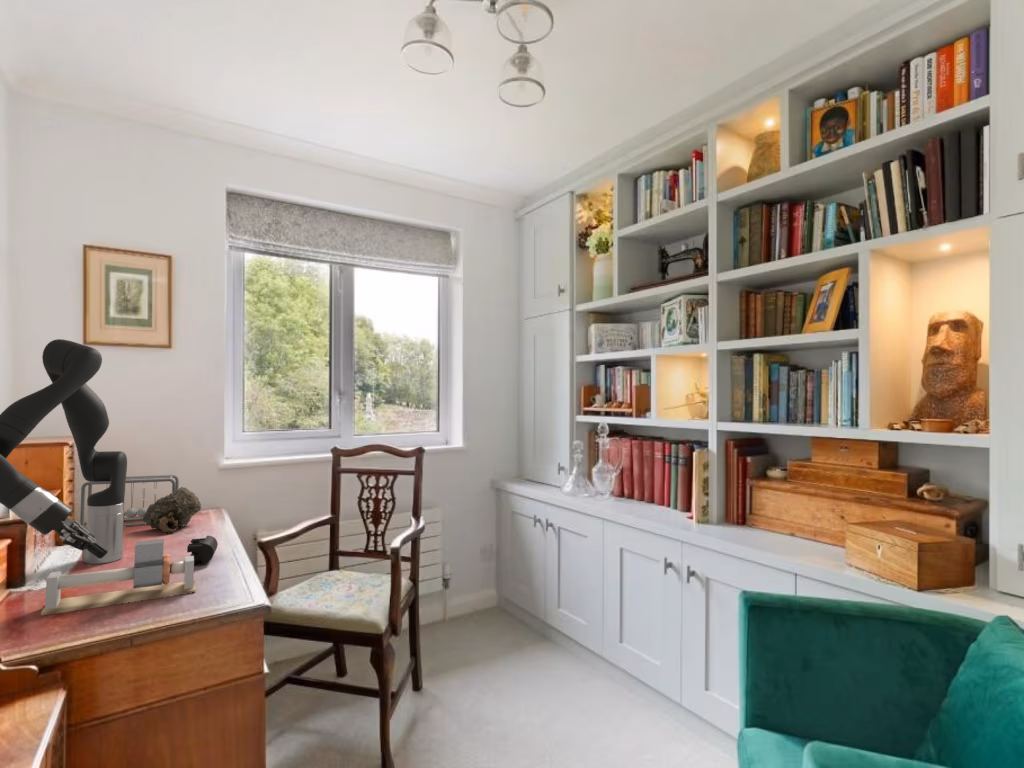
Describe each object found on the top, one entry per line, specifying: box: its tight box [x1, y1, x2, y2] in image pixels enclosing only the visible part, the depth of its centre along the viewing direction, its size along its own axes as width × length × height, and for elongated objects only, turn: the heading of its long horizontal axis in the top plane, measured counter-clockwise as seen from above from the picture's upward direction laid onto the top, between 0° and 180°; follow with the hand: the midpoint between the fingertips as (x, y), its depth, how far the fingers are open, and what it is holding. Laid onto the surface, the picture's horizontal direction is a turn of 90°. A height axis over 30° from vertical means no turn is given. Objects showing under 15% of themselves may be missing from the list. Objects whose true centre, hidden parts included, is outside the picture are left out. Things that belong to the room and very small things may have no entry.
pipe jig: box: [44, 555, 195, 610], centre depth 138 cm, size 30×5×8 cm, turn 121°
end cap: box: [186, 535, 219, 567], centre depth 169 cm, size 10×7×7 cm
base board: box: [40, 579, 196, 616], centre depth 138 cm, size 31×8×1 cm, turn 121°
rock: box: [142, 486, 202, 534], centre depth 206 cm, size 18×14×15 cm
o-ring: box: [162, 553, 171, 585], centre depth 143 cm, size 2×7×7 cm, turn 31°
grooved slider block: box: [132, 538, 165, 589], centre depth 141 cm, size 6×6×10 cm
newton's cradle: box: [79, 474, 180, 527], centre depth 213 cm, size 30×10×18 cm, turn 115°
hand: (104, 554), depth 136 cm, fingers closed
